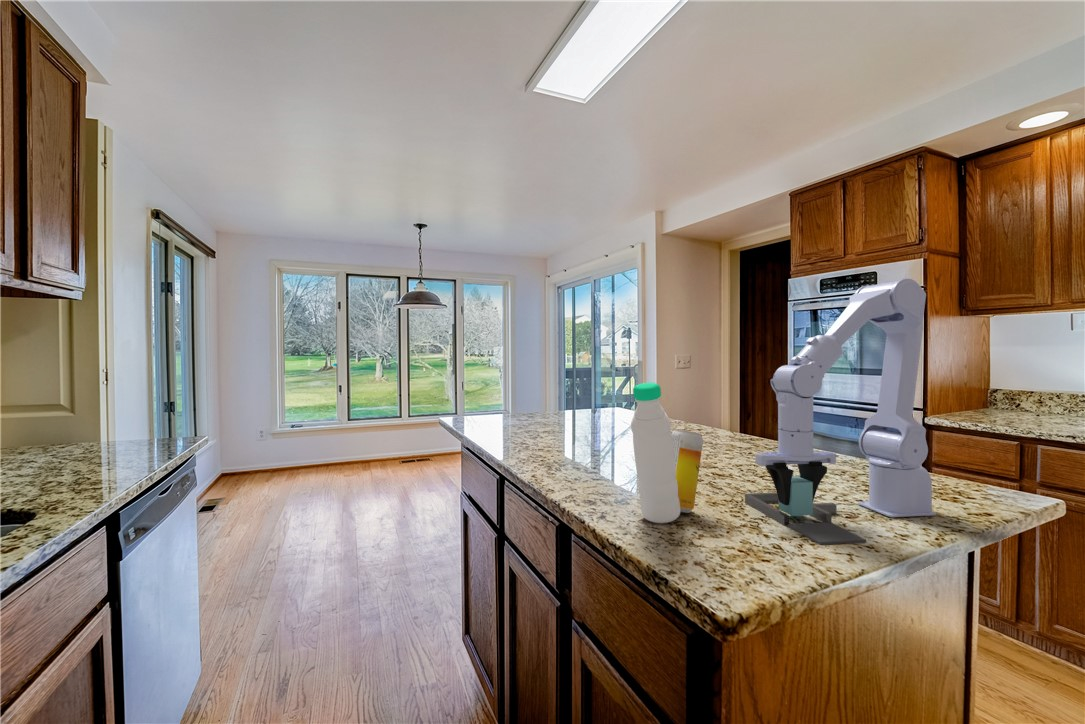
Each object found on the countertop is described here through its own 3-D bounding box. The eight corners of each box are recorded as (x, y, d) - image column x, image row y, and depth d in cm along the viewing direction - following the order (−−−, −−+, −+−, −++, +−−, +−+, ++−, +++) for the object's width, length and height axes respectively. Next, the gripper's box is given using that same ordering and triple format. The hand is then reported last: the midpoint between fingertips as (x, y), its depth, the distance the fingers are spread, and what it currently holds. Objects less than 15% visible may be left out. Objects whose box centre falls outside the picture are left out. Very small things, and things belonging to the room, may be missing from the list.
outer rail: (805, 500, 96) (805, 491, 96) (854, 524, 83) (854, 513, 83) (743, 503, 95) (743, 493, 95) (784, 527, 82) (784, 516, 81)
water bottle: (663, 501, 90) (649, 377, 85) (689, 515, 83) (675, 383, 79) (634, 513, 87) (618, 386, 83) (658, 529, 81) (642, 393, 76)
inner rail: (832, 513, 88) (832, 502, 88) (854, 523, 83) (854, 512, 83) (805, 514, 88) (805, 503, 88) (826, 524, 82) (826, 513, 82)
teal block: (798, 507, 87) (798, 476, 87) (812, 515, 84) (812, 482, 83) (778, 508, 87) (778, 477, 87) (791, 515, 83) (791, 482, 83)
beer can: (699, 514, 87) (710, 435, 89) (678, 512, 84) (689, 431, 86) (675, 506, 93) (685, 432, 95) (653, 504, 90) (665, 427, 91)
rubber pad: (830, 524, 82) (830, 522, 82) (866, 542, 74) (866, 539, 74) (787, 526, 81) (788, 524, 81) (819, 544, 73) (819, 542, 73)
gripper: (817, 425, 90) (817, 495, 90) (746, 427, 88) (746, 497, 88) (844, 431, 83) (844, 506, 83) (767, 433, 81) (768, 509, 81)
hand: (795, 503), depth 85 cm, fingers closed on teal block, 4 cm apart
